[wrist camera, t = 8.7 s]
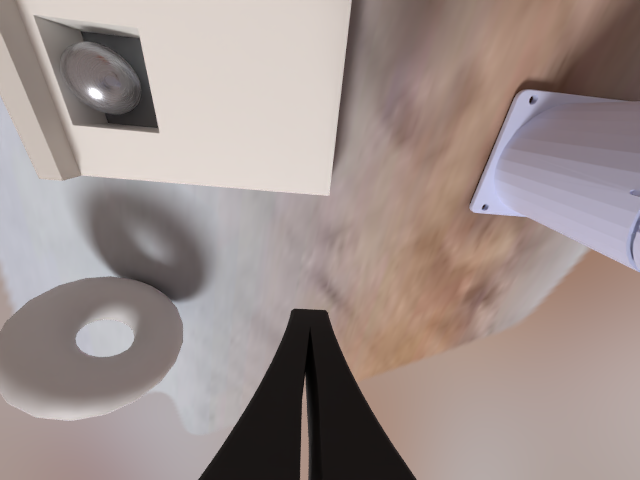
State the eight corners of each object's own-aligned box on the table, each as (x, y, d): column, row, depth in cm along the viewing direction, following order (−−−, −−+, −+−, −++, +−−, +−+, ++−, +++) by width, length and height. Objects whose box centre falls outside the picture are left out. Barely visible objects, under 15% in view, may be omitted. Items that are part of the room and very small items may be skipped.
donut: (83, 274, 21) (-88, 397, 12) (95, 248, 19) (-86, 362, 11) (192, 325, 24) (122, 451, 15) (209, 304, 23) (143, 429, 14)
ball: (123, 52, 14) (141, 48, 12) (137, 113, 15) (155, 118, 14) (43, 35, 12) (51, 28, 10) (69, 109, 13) (80, 114, 11)
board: (347, -1, 13) (359, -40, 9) (326, 185, 17) (330, 202, 14) (20, -47, 11) (-95, -110, 8) (94, 165, 16) (39, 178, 13)
